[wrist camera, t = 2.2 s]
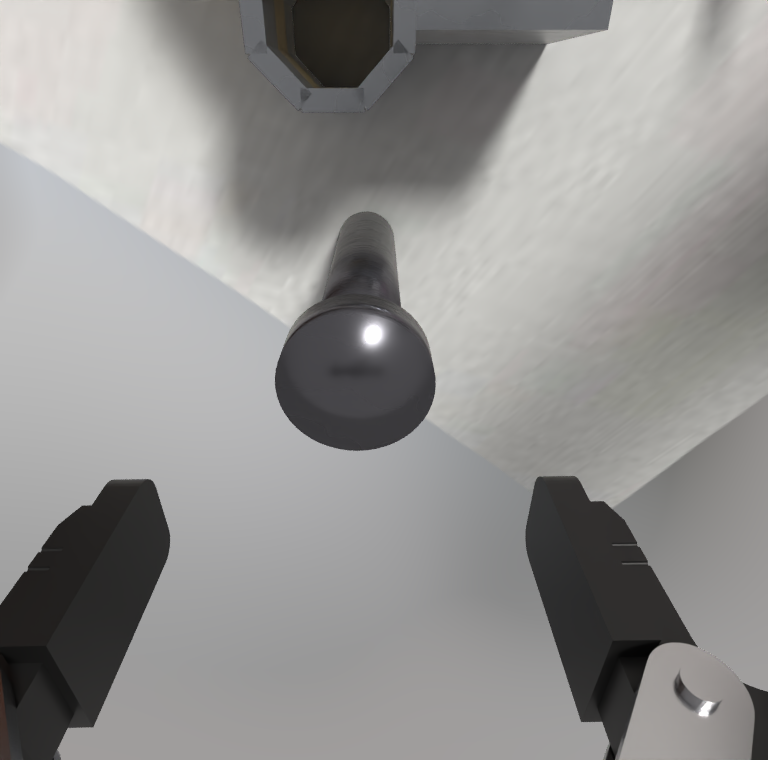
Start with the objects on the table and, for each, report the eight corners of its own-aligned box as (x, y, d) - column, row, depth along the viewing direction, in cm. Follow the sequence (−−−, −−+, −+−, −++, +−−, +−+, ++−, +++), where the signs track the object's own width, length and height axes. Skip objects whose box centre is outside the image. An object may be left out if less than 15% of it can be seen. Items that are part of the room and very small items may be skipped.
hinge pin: (408, 196, 28) (439, 312, 14) (406, 279, 30) (431, 450, 16) (322, 197, 28) (266, 313, 14) (327, 279, 30) (283, 451, 16)
